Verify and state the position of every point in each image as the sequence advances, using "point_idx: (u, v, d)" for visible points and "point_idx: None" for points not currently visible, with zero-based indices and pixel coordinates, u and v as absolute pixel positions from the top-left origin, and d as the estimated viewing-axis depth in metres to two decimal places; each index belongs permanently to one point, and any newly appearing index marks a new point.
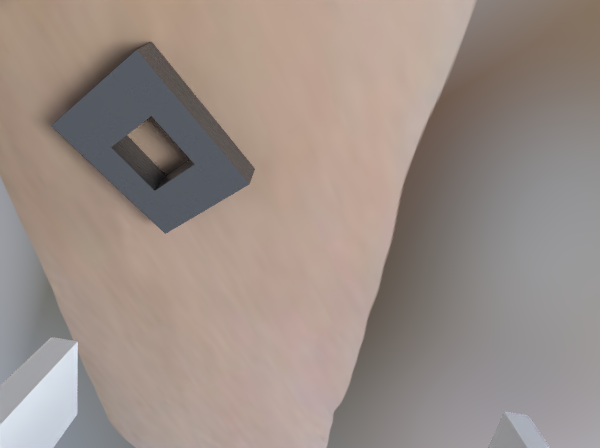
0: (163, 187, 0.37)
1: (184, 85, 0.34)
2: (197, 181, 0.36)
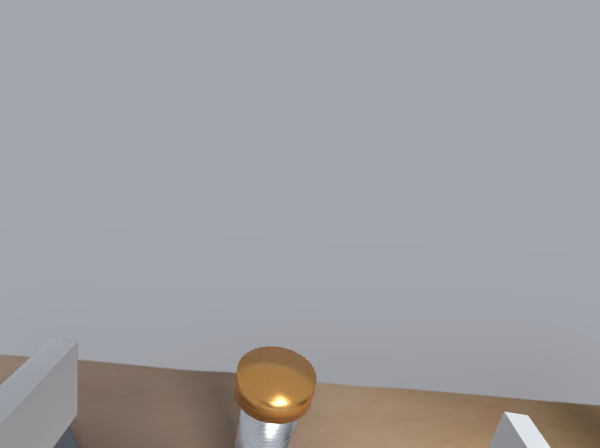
0: None
1: None
2: None
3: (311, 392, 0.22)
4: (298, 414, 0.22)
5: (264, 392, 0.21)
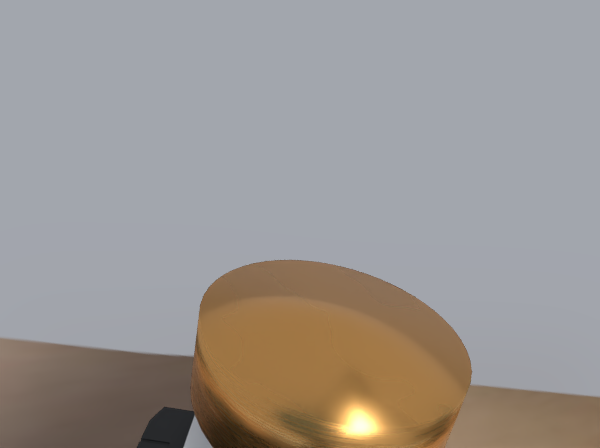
0: None
1: None
2: None
3: None
4: None
5: (302, 380, 0.05)
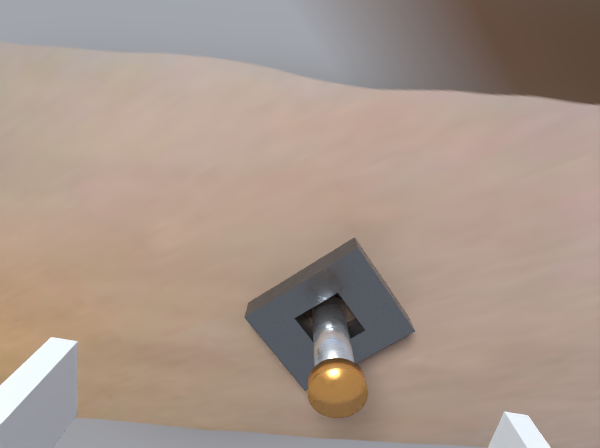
0: (361, 322, 0.40)
1: (278, 285, 0.42)
2: (355, 292, 0.39)
3: (315, 378, 0.31)
4: (323, 363, 0.31)
5: (349, 378, 0.30)
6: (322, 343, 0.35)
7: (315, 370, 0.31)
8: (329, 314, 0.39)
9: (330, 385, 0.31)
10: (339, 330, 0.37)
